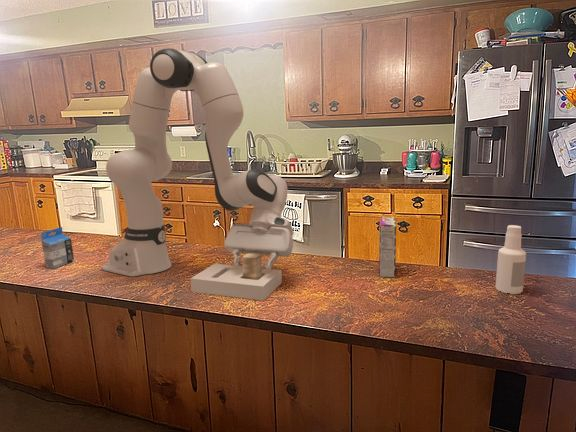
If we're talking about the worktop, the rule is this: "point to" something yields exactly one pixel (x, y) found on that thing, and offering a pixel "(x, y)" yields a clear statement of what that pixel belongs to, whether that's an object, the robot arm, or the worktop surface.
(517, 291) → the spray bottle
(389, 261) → the candy bar box
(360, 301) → the worktop surface
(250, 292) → the socket board
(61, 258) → the label tape box
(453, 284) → the worktop surface
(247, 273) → the square peg
